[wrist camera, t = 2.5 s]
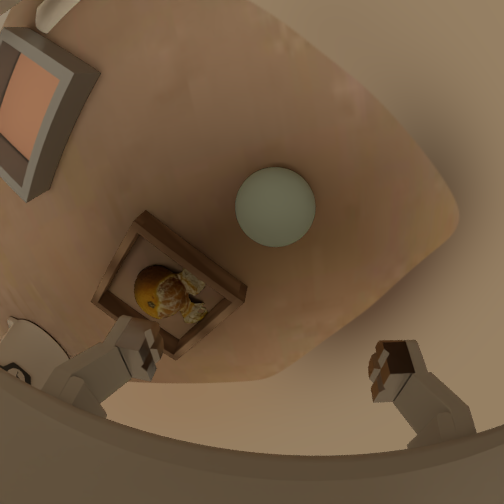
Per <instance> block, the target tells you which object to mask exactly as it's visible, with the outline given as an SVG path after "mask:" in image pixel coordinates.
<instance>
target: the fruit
mask: <svg viewBox="0 0 504 504" xmlns="http://www.w3.org/2000/svg"><path fill="white" fill-rule="evenodd" d="M204 287H205V283H204V282H202V281H200V280H199V279H197V278H196V277H195V276H194V275H193V274H191V273H190V272H189V271H187V270H186V269H185V268H184V269H183V271H182V272H181V273H179V274H175V273H172V272H171V271H170V270H168V269H166V268H165V267H163V266H157V265H154V266H149V267H147V268H145V269H143V270H142V271H141V272H140V273H139V274H138V276H137V279H136V281H135V285H134V293H135V299H136V302H137V304H138V305H139V306H140V308H141V309H142V310H143V311H145V312H146V313H147V314H148V315H150V316H152V317H154V318H156V319H162V318H165V317H168V316H172V315H174V314H175V313H177V312H178V311H180V312H181V313H182V316H183V318H184V322H186V323H196V322H197V321H199V320H201V319H202V318H203V317H205V315H206V314H207V313H208V312H207V309H206V308H205V307H202V305H204V303H199V304H194V303H192V302H191V301H190V299H189V297H188V294H192V295H197V294H198V293H200V292H201V290H202V289H204ZM199 309H203V310H205V311H204V312H203V313H198V310H199Z"/></svg>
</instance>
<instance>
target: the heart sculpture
mask: <svg viewBox="0 0 504 504" xmlns="http://www.w3.org/2000/svg"><path fill="white" fill-rule="evenodd" d="M20 1H22V0H0V15H2V14H3V13H5V12H6V11H8V10H9V9H11V8H12V7H13V6H15V5H16V4H18V3H19V2H20ZM79 1H80V0H44V1H43V2H42V3H41V4H40V5H39V7H38V8H37V11H36V21H35V22H36V27H37V29H38V30H40V31H41V32H44V33H48V32H49V31H50V30H51V29H52V28H53V27H54V26H55V25H56V24H57V23H58V22H59V21H60V20H61V19H62V18H63V17H64V16H65V15H66V14H67V13H68V12H69V11H70V10H71V9H72V8H73V7H74V6H75V5H76V4H77V3H78V2H79Z"/></svg>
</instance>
